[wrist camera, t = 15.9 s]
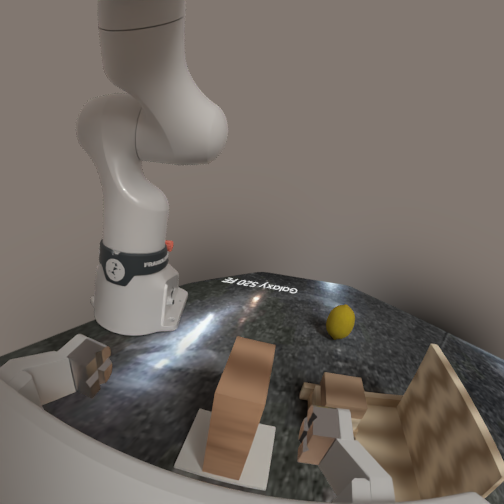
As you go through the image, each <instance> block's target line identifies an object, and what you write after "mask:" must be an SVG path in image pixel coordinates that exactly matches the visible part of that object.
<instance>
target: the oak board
mask: <svg viewBox="0 0 504 504" xmlns="http://www.w3.org/2000/svg"><path fill="white" fill-rule="evenodd" d="M275 346H276V345H272V344H268V343H263V342H259V341H255V340H251V339H247V338H243V337H239V336H237V338H236V341H235V343H234V346H233V349H232V351H231V354H230V356H229V359H228V361H227V364H226V366H225V369H224V371H223V374H222V376H221V379H220V381H219V384H218V386H217V389H216V391H215V395H214V401H213V407H212V413H211V420H210V426H209V432H208V438H207V444H206V450H205V456H204V463H203V469H202V471H203V472H207V473H210V474H214V475H218V476H222V477H226V478H230V479H234V480H239V479H240V476H241V473H242V471H243V468H244V465H245V462H246V460H247V457H248V454H249V451H250V448H251V445H252V443H253V440H254V437H255V434H256V431H257V428H258V425H259V422H260V419H261V416H262V413H263V410H264V407H265V403H266V397H267V392H268V386H269V381H270V375H271V369H272V363H273V358H274V352H275Z"/></svg>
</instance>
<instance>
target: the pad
mask: <svg viewBox="0 0 504 504" xmlns="http://www.w3.org/2000/svg"><path fill="white" fill-rule="evenodd" d="M211 413H212V412H210V411H207V410H203V409H199V411H198V413H197V415H196V418H195V420H194V422H193V424H192V427H191V429H190V431H189V433H188V436H187V438H186V440H185V442H184V445H183V447H182V449H181V451H180V454H179V456H178V458H177V460H176V463H175V465H174V468H177V469H180V470H183V471H186V472H190V473H193V474H196V475H200V476H203V477H207V478H210V479H214V480H218V481H222V482H226V483H230V484H235V485H239V486H244V487H249V488H254V489H259V490H266V486H267V481H268V474H269V468H270V462H271V455H272V449H273V442H274V435H275V428H276V427H273V426H268V425H263V424H259V425H258V428H257V431H256V434H255V437H254V440H253V443H252V445H251V448H250V451H249V454H248V457H247V460H246V462H245V465H244V468H243V471H242V473H241V476H240V479H239V480H234V479H230V478H226V477H222V476H218V475H214V474H210V473H207V472H203V471H202V469H203V463H204V456H205V450H206V444H207V438H208V432H209V426H210V420H211Z"/></svg>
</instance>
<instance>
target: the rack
mask: <svg viewBox="0 0 504 504" xmlns="http://www.w3.org/2000/svg"><path fill="white" fill-rule="evenodd" d="M316 385H317V384H311V383H306V382H304V384H303V386H302V389H301V392H300V397H299V399H303V400H308V399H309V396H310V394H311V392H313V391H314V389H315V386H316ZM317 386H320V385H317ZM364 393H365V398H366V403H367V407H368V409H367V411H366V413H365V414H364V416H363V418H362V419H361V421H360V423H359V424H358V426H357V427H358V433H357V434H356V436H355V437H354V440H357V441H358V442H359V443H360V444H361V445H362V446H363V447H364V448H365V449H366V450H367V452H368V453H369V454H370V455H371V456H372V457H373V458H374V459H375V460H376V461H377V462H378V464H379V465H380V466H381V467H382V468H383V469H384V470H385V471H386V472H387V473H388V474H389V475H390V476H391V477H392V482H393V488H394V495H395V502H404V501H414V500H423V499H430V498H437V497H443V496H449V495H454V494H459V493H464V492H476V493H477V494H479V495H480V496H482V497H483V498H484V499H485V498H486V497H487V496H488V495H489V494H490V493H491V492H492V491H493V490H495V489H496V488H497V487H498V486H499V485H500V484H501V483H502V482H503V481H504V461H503V459H502V457H501V455H500V453H499V451H498V449H497V447H496V445H495V443H494V441H493V439H492V437H491V435H490V433H489V431H488V429H487V427H486V425H485V423H484V421H483V420H482V418H481V416H480V414H479V412H478V410H477V409H476V407H475V405H474V403H473V402H472V400H471V398H470V396H469V395H468V393H467V391H466V390H465V388H464V386H463V385H462V383H461V381H460V380H459V378H458V376H457V375H456V373H455V371H454V370H453V368H452V367H451V365H450V363H449V362H448V360H447V359H446V357H445V356H444V354H443V352H442V351H441V349H440V348H439V346H438V345H436V344H431V345H430V347H429V349H428V351H427V353H426V355H425V357H424V359H423V361H422V363H421V365H420V367H419V369H418V370H417V372H416V374H415V376H414V378H413V380H412V381H411V383H410V385H409V387H408V389H407V390H406V392H405V394H404V396H401V395H390V394H381V393H372V392H364Z"/></svg>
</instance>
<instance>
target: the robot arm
mask: <svg viewBox="0 0 504 504" xmlns="http://www.w3.org/2000/svg"><path fill="white" fill-rule="evenodd" d="M185 11H186V0H98V28H99V38H100V47H101V55H102V63H103V69H104V72H105V74H106V76H107V78H108V79H109V80H110V81H111V82H112V83H113V84H114V85H115V86H117V87H119V88H121V89H122V90H124V91H126V92H127V93H114V94H108V95H103V96H99V97H95V98H92V99H90V100H89V101H87V102H86V104H85V105H84V106H83V108H82V109H81V111H80V113H79V115H78V118H77V122H76V135H77V139H78V142H79V144H80V146H81V147H82V148H83V149H84V150H85V151H86V153H87V154H88V155H89V156H90V158H91V159H92V161H93V163H94V165H95V167H96V169H97V172H98V174H99V178H100V181H101V185H102V191H103V208H104V209H103V239H102V240H101V242H100V248H99V261H100V264H99V265H97V268H96V278H95V291H94V295H93V296H92V297H91V304H92V306H93V307H94V317H95V319H96V321H97V322H98V323H99V324H100V325H101V326H102V327H104V328H105V329H107V330H109V331H112V332H115V333H118V334H123V335H146V334H150V333H154V332H159V331H174V330H176V329H177V327H178V324H179V321H180V318H181V315H182V312H183V310H184V307H185V304H186V301H187V298H188V293H187V292H186V291H185V290H183V289H181V288H179V287H178V282H179V274H178V272H177V271H176V270H175V269H174V268H173V267H172V266H171V265H170V264H169V263H168V252H167V251H172V248H173V241H167V240H166V232H167V223H168V215H169V202H168V199H167V197H166V196H165V194H164V193H163V192H162V191H161V190H160V189H159V188H158V187H157V186H155V185H154V184H152V183H151V182H149V181H148V180H147V179H146V177H145V175H144V173H143V169H142V161H150V162H159V163H166V164H174V165H198V164H209V163H211V162H212V161H213V160H214V159H215V158H217V156H219V154H220V153H221V152H222V150H223V149H224V146H225V144H226V142H227V138H228V123H227V119H226V117H225V115H224V113H223V111H222V110H221V109H220V107H219V106H218V105H216V104H215V103H213V102H212V101H211V100H210V99H208V98H207V97H206V96H205V95H204V94H203V93H202V91H201V90H200V89H199V88H198V86H197V85H196V83H195V82H194V81H193V79H192V77H191V75H190V73H189V70H188V68H187V64H186V58H185V43H184V42H185V41H184V32H185ZM110 355H111V351H110V348H109V347H108V346H106V345H104V344H102V343H99V342H97V341H95V340H93V339H91V338H88V337H86V336H84V335H82V334H77V335H76V336H75V337H74V338H73V339H71V340H70V341H69V342H68V343H67V344H65V345H64V346H63V347H62V348H61V349H60V350H59V351H57V352H56V351H51V352H46V353H41V354H36V355H31V356H26V357H21V358H16V359H11V360H9V361H8V362H7V363H5V364H4V365H3V366H2V367H0V504H490V503H489V502H488V501H486V500H485V499H484V498H483V497H482V496H480V495H479V494H477V493H476V492H464V493H459V494H454V495H449V496H443V497H437V498H430V499H423V500H414V501H404V502H395V495H394V488H393V482H392V477H391V476H390V475H389V474H388V473H387V472H386V471H385V470H384V469H383V468H382V467H381V466H380V465H379V464H378V462H377V461H376V460H375V459H374V458H373V457H372V456H371V455H370V454H369V453H368V452H367V450H366V449H365V448H364V447H363V446H362V445H361V444H360V443H359V442H358V441H357V440H354V435H353V428H352V420H351V413H350V410H349V409H341V408H332V407H325V406H318V405H311V406H310V408H309V410H308V417H306V418H304V420H303V423H302V425H301V428H300V433H299V441H300V442H301V445H300V446H299V448H298V461H297V462H301V463H308V464H314V465H319V468H320V470H321V471H322V473H323V475H324V476H325V478H326V479H327V481H328V483H329V484H330V486H331V488H332V489H333V491H334V493H335V494H336V496H337V497H336V498H335V499H334V500H333V501H332V502H331V503H327V502H313V501H302V500H293V499H285V498H278V497H271V496H265V495H259V494H254V493H249V492H244V491H239V490H234V489H230V488H226V487H222V486H218V485H214V484H210V483H206V482H203V481H199V480H196V479H192V478H189V477H186V476H183V475H180V474H177V473H174V472H171V471H168V470H165V469H162V468H159V467H157V466H154V465H151V464H149V463H146V462H144V461H141V460H139V459H136V458H134V457H132V456H129V455H127V454H125V453H122V452H120V451H118V450H116V449H114V448H112V447H109V446H107V445H105V444H103V443H101V442H99V441H97V440H95V439H93V438H91V437H89V436H87V435H86V434H84V433H82V432H80V431H78V430H76V429H75V428H73V427H71V426H69V425H68V424H66V423H64V422H62V421H61V420H59V419H57V418H56V417H54V416H53V415H51V414H49V413H48V412H46V411H45V410H44V409H43V407H42V405H44V404H47V403H49V402H52V401H54V400H57V399H59V398H62V397H64V396H67V395H69V394H72V393H74V392H76V391H77V392H80V393H82V394H84V395H86V396H88V397H90V398H93V397H94V396H95V395H96V394H97V392H98V391H99V390H100V384H103V383H106V382H107V380H108V379H109V377H110V375H111V372H112V362H111V361H110V359H109V358H108V357H109V356H110Z"/></svg>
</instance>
